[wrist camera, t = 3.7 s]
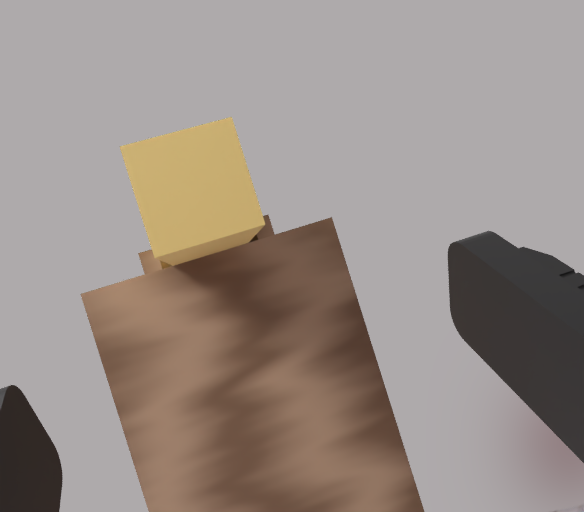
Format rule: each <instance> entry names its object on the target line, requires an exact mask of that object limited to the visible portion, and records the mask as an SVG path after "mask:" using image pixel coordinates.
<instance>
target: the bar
mask: <svg viewBox="0 0 584 512" xmlns="http://www.w3.org/2000/svg"><path fill="white" fill-rule="evenodd" d="M120 149H121V152H122V155H123V159H124V162H125V165H126V168H127V171H128V175H129V178H130V181H131V184H132V188H133V191H134V194H135V197H136V200H137V203H138V206H139V210H140V213H141V216H142V219H143V223H144V226H145V229H146V232H147V235H148V239H149V242H150V245H151V248H152V251H153V255H154V258H156V259H158V260H161V261H163V262H165V263H167V264H170V265H172V266H174V265H178V264H181V263H184V262H187V261H191V260H194V259H197V258H200V257H204V256H207V255H210V254H214V253H217V252H220V251H223V250H227V249H230V248H233V247H236V246H240V245H243V244H246V243H249V242H250V240H251V239H252V238H253V237H254V236H255V235H256V234H257V233H258V232H259V231H260V230H261V229H262V228H263V227H264V226H265V221H264V218H263V215H262V212H261V209H260V205H259V202H258V200H257V196H256V193H255V190H254V186H253V183H252V180H251V177H250V174H249V170H248V168H247V164H246V161H245V158H244V155H243V151H242V148H241V145H240V142H239V139H238V135H237V132H236V129H235V126H234V123H233V120H232V117H229V118H226V119H222V120H218V121H214V122H211V123H207V124H203V125H199V126H195V127H192V128H188V129H184V130H180V131H177V132H173V133H169V134H165V135H162V136H158V137H154V138H150V139H147V140H143V141H139V142H135V143H131V144H128V145H124V146H120Z"/></svg>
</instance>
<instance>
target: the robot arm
mask: <svg viewBox="0 0 584 512" xmlns="http://www.w3.org/2000/svg"><path fill="white" fill-rule="evenodd" d="M448 271H449V293H450V311H451V316H452V319H453V322H454V325H455V327H456V329H457V331H458V332H459V334H460V336H461V337H462V338H463V339H464V341H465V342H466V343H467V344H468V345H469V346H470V347H471V348H472V349H473V350H474V351H475V352H476V353H477V354H478V355H479V356H480V357H481V358H482V359H483V360H484V361H485V362H486V363H487V364H488V365H489V366H490V367H491V368H492V369H493V370H494V371H495V372H496V373H497V374H498V375H499V377H500V378H501V379H502V380H503V381H504V382H505V383H506V384H507V385H508V386H509V387H510V388H511V389H512V390H513V391H514V392H515V393H516V394H517V395H518V396H519V397H520V398H521V399H522V400H523V401H524V402H525V403H526V404H527V405H528V406H529V407H530V408H531V409H532V410H533V411H534V412H535V413H536V415H538V416H539V418H540V419H541V420H543V422H544V423H545V424H546V425H547V426H548V427H549V428H550V429H551V430H552V431H553V432H554V433H555V434H556V435H557V436H558V437H559V438H560V439H561V440H562V441H563V442H564V443H565V444H566V445H567V446H568V447H569V448H570V449H571V450H572V451H573V452H574V454H576V455H577V457H578V458H579V459H580V460H581V461H582V462H583V463H584V275H582V274H580V273H575V272H574V269H572V268H570V267H569V266H568V265H566V264H564V263H563V262H561V261H560V260H558V259H556V258H555V257H553V256H551V255H548V254H544V253H541V252H538V251H535V250H532V249H528V248H525V247H522V248H519V249H518V248H517V247H515V246H514V245H512V244H511V243H509V242H508V241H506V240H505V239H503V238H502V237H500V236H499V235H497V234H496V233H494V232H491V231H487V232H484V233H481V234H478V235H475V236H472V237H469V238H465V239H462V240H459V241H456V242H453V243H452V244H450V246H449V249H448ZM61 490H62V468H61V463H60V459H59V455H58V453H57V450H56V448H55V446H54V444H53V442H52V441H51V439H50V437H49V436H48V434H47V432H46V431H45V429H44V427H43V426H42V424H41V422H40V421H39V419H38V417H37V416H36V414H35V412H34V411H33V409H32V408H31V406H30V404H29V402H28V401H27V399H26V397H25V396H24V394H23V393H22V391H21V390H20V389H19V388H18V387H16V386H14V385H11V386H8V387H5V388H2V389H0V512H59V508H60V499H61Z"/></svg>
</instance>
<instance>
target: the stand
mask: <svg viewBox="0 0 584 512" xmlns="http://www.w3.org/2000/svg"><path fill="white" fill-rule="evenodd" d="M263 218H264V221H265V226H264V227H263V228H262V229H261V230H260V231H259V232H258V233H257V234H256V235H255V236H254V237H253V238H252V239H251V240H250V242H249V243H246V244H243V245H240V246H236V247H233V248H230V249H227V250H223V251H220V252H217V253H214V254H210V255H207V256H204V257H200V258H197V259H194V260H191V261H187V262H184V263H181V264H178V265H174V266H172V265H170V264H167V263H165V262H163V261H161V260H158V259H156V258H154V255H153V251H152V250H148V251H145V252H142V253H139V257H140V260H141V263H142V266H143V270H144V273H145V275H142V276H138V277H135V278H132V279H128V280H125V281H122V282H119V283H115V284H112V285H109V286H106V287H102V288H99V289H96V290H93V291H89V292H86V293H83V294H81V297H82V300H83V303H84V306H85V309H86V312H87V316H88V319H89V322H90V326H91V329H92V332H93V335H94V338H95V341H96V345H97V348H98V351H99V354H100V357H101V361H102V364H103V367H104V370H105V373H106V376H107V380H108V383H109V386H110V389H111V393H112V396H113V399H114V402H115V405H116V408H117V412H118V415H119V418H120V421H121V424H122V427H123V431H124V434H125V437H126V440H127V444H128V447H129V450H130V453H131V456H132V459H133V463H134V466H135V469H136V472H137V475H138V478H139V482H140V485H141V488H142V491H143V495H144V498H145V501H146V504H147V507H148V510H149V512H424V509H423V506H422V503H421V500H420V496H419V494H418V490H417V487H416V484H415V481H414V477H413V474H412V471H411V468H410V465H409V462H408V458H407V455H406V452H405V449H404V446H403V442H402V439H401V436H400V433H399V430H398V426H397V423H396V420H395V417H394V414H393V411H392V407H391V404H390V401H389V398H388V395H387V392H386V388H385V385H384V382H383V379H382V376H381V372H380V369H379V366H378V363H377V360H376V357H375V353H374V350H373V347H372V344H371V341H370V337H369V335H368V331H367V328H366V325H365V322H364V318H363V315H362V312H361V309H360V306H359V303H358V299H357V296H356V293H355V290H354V287H353V283H352V280H351V277H350V274H349V271H348V267H347V264H346V261H345V258H344V255H343V252H342V249H341V245H340V242H339V239H338V236H337V233H336V229H335V226H334V223H333V220H332V218H328V219H325V220H322V221H318V222H315V223H312V224H308V225H305V226H302V227H299V228H296V229H292V230H289V231H286V232H282V233H279V234H276V235H274V232H273V228H272V225H271V222H270V219H269V216H268V215H265V216H263Z"/></svg>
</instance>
